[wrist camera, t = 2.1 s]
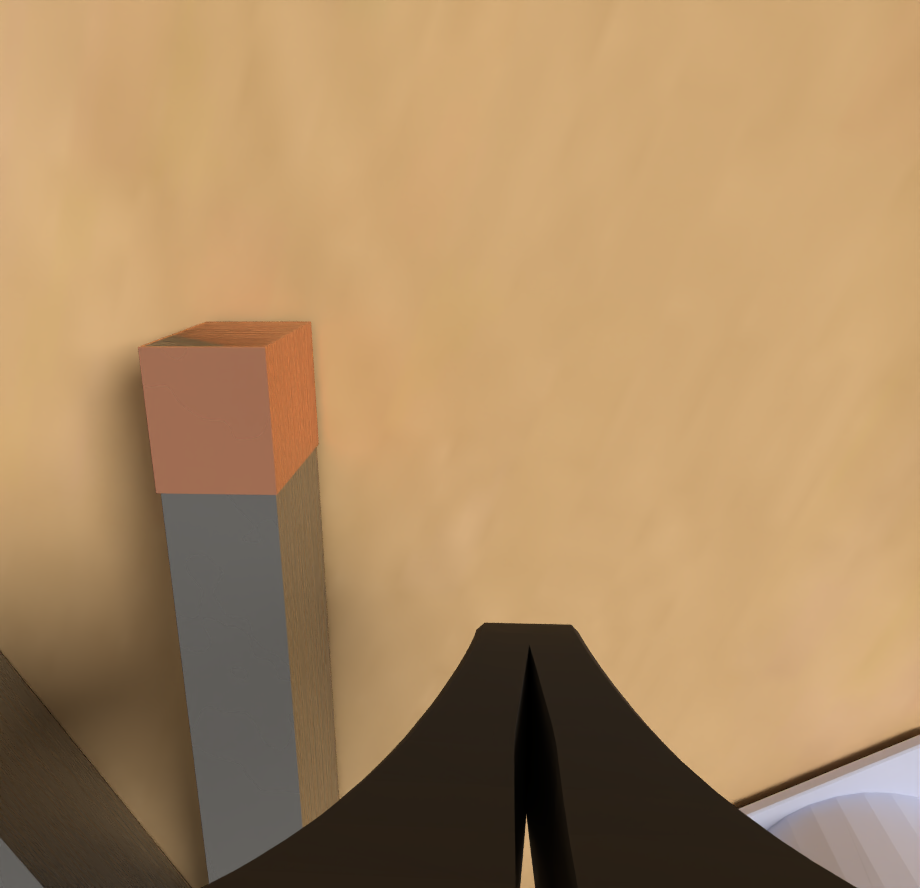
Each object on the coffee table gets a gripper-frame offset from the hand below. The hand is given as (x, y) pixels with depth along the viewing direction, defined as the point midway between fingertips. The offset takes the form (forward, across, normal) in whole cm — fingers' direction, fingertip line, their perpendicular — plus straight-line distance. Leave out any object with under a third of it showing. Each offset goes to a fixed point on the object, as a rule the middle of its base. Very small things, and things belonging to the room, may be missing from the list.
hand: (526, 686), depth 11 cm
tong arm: (+9, +7, +7) cm, 13 cm away
